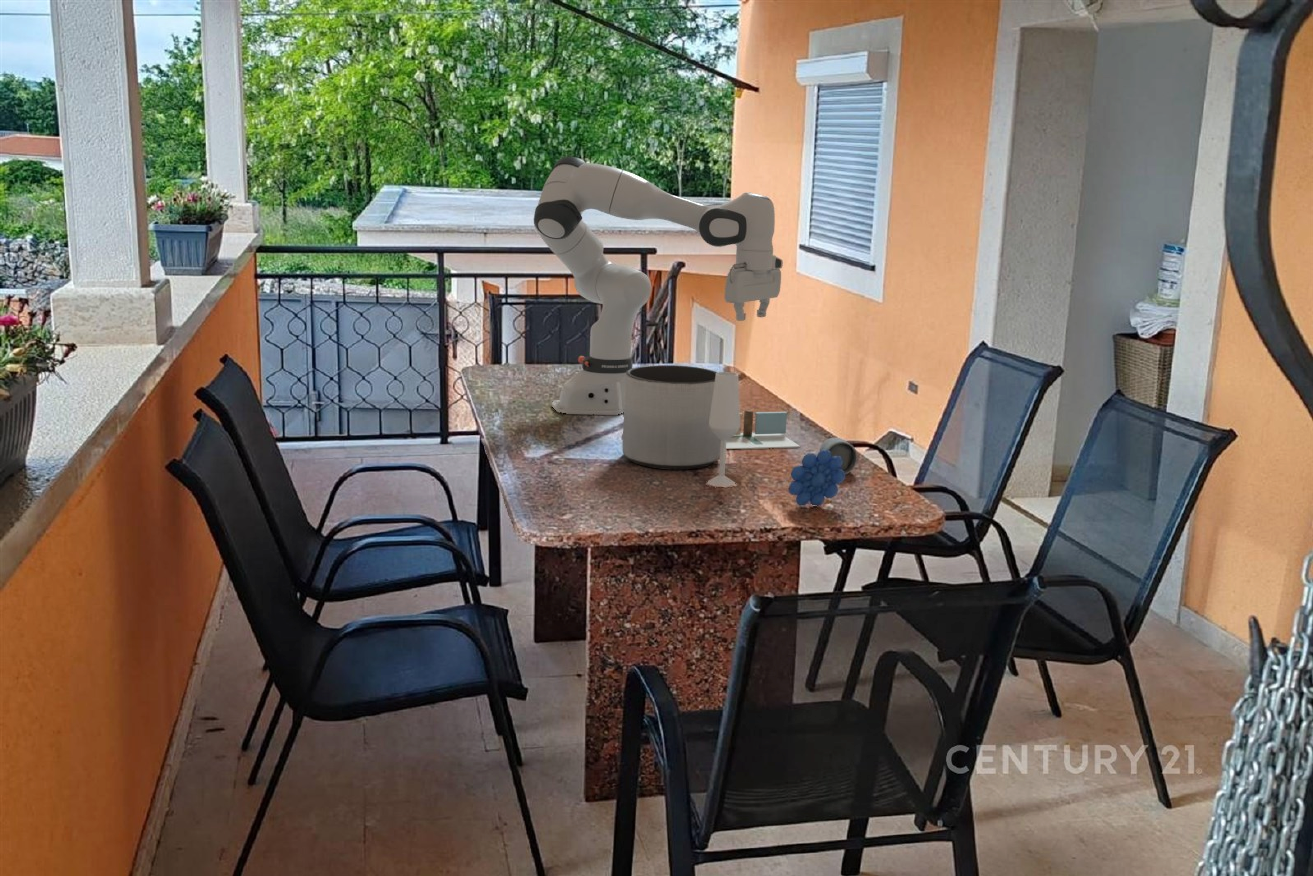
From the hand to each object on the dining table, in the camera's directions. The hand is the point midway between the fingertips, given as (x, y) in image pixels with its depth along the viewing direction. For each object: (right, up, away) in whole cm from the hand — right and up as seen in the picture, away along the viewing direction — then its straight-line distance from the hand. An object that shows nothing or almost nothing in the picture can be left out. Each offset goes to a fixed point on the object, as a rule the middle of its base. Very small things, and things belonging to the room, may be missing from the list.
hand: (751, 318), depth 298 cm
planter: (-20, -34, -16) cm, 43 cm away
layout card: (0, -30, +3) cm, 30 cm away
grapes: (+9, -43, -48) cm, 65 cm away
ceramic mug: (+16, -37, -21) cm, 45 cm away
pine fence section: (-6, -29, +6) cm, 30 cm away
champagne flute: (-9, -39, -35) cm, 53 cm away
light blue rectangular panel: (+5, -28, +9) cm, 30 cm away
